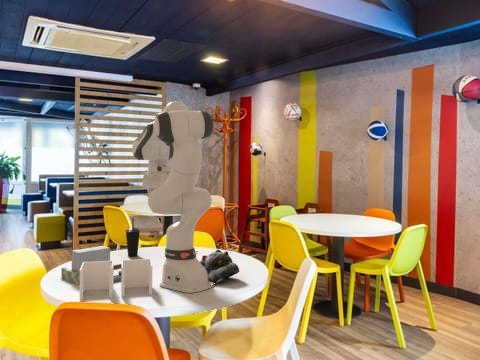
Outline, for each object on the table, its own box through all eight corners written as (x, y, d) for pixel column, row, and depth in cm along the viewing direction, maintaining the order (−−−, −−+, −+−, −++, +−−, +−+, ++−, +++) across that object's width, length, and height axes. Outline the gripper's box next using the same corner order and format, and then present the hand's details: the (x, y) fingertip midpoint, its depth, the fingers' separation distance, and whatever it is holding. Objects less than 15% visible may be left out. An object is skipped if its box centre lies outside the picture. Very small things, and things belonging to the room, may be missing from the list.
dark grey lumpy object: (209, 286, 154) (197, 253, 158) (205, 289, 165) (194, 258, 169) (243, 273, 159) (231, 241, 163) (237, 276, 170) (226, 247, 174)
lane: (138, 272, 173) (138, 263, 173) (78, 285, 153) (78, 275, 153) (119, 266, 184) (119, 257, 184) (61, 277, 164) (61, 267, 164)
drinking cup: (137, 257, 201) (138, 219, 200) (123, 257, 201) (123, 219, 201) (141, 254, 209) (142, 217, 208) (127, 254, 209) (128, 217, 208)
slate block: (109, 275, 168) (110, 247, 168) (78, 281, 158) (78, 252, 158) (103, 272, 172) (103, 245, 172) (71, 278, 162) (71, 250, 162)
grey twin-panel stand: (150, 286, 154) (150, 258, 154) (152, 295, 144) (152, 265, 143) (83, 290, 147) (83, 262, 147) (79, 300, 137) (79, 269, 136)
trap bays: (130, 278, 163) (130, 275, 163) (111, 283, 157) (111, 279, 157) (98, 266, 182) (98, 263, 182) (79, 270, 176) (79, 266, 176)
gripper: (139, 169, 191) (138, 197, 191) (165, 167, 178) (164, 197, 177) (150, 169, 196) (149, 197, 195) (176, 168, 182) (175, 198, 182)
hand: (156, 197), depth 186 cm, fingers open, 8 cm apart
